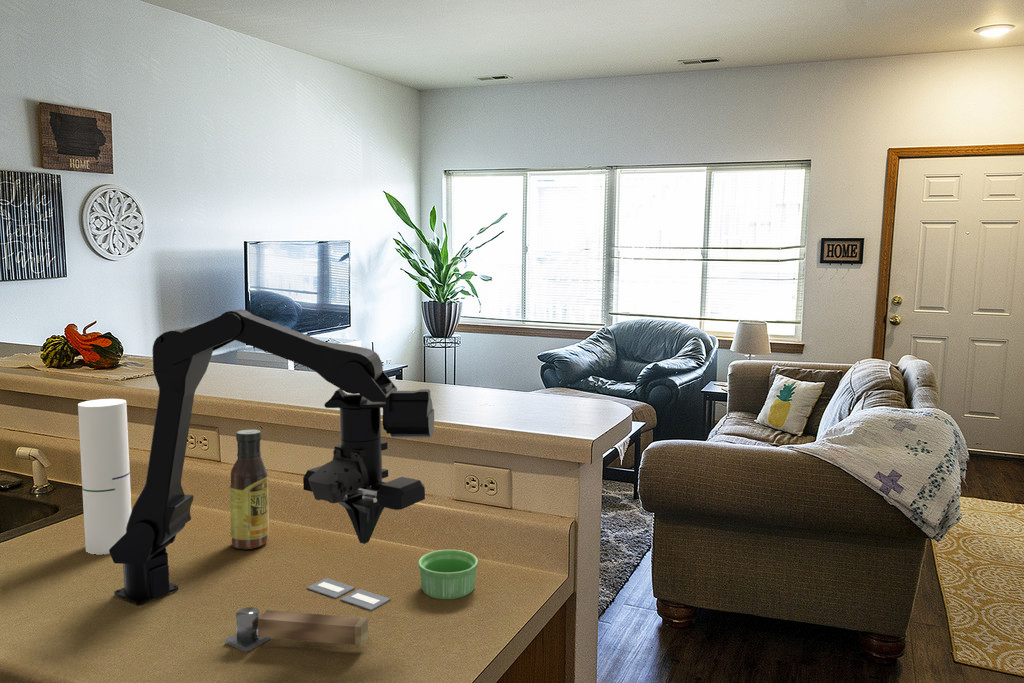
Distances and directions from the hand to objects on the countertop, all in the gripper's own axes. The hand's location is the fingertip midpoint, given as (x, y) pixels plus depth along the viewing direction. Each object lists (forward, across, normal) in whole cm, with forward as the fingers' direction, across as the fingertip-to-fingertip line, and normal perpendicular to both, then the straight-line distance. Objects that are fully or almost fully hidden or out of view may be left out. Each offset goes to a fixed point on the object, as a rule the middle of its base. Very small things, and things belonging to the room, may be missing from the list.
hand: (364, 542), depth 109 cm
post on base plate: (+8, -4, -17) cm, 20 cm away
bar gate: (+7, +4, -14) cm, 16 cm away
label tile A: (+8, -7, 0) cm, 11 cm away
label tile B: (+8, 0, 0) cm, 9 cm away
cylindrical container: (+8, -50, -9) cm, 52 cm away
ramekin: (+9, +8, +10) cm, 15 cm away
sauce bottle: (+8, -31, +5) cm, 33 cm away
